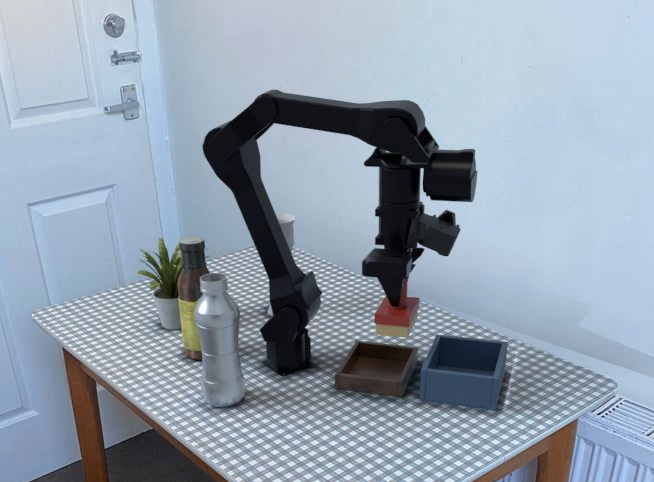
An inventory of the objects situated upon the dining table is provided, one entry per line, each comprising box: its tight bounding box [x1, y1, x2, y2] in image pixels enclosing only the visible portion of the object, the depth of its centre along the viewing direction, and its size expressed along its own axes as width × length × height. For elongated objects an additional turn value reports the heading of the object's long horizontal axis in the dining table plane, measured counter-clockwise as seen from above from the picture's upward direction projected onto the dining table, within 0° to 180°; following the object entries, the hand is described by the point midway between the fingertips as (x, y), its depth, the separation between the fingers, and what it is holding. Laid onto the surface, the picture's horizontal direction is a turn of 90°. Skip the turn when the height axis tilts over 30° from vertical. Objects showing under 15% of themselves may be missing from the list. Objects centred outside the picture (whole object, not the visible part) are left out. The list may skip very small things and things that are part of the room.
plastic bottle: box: [194, 272, 247, 408], centre depth 115 cm, size 6×7×20 cm
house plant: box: [136, 237, 211, 330], centre depth 141 cm, size 14×14×16 cm
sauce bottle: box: [177, 236, 210, 361], centre depth 130 cm, size 6×6×20 cm
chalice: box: [267, 211, 296, 317], centre depth 145 cm, size 7×7×18 cm
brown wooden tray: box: [334, 340, 419, 399], centre depth 124 cm, size 10×12×3 cm
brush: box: [373, 278, 421, 338], centre depth 118 cm, size 8×5×7 cm
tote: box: [419, 334, 509, 411], centre depth 120 cm, size 11×13×6 cm
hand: (397, 302), depth 118 cm, fingers closed on brush, 3 cm apart
